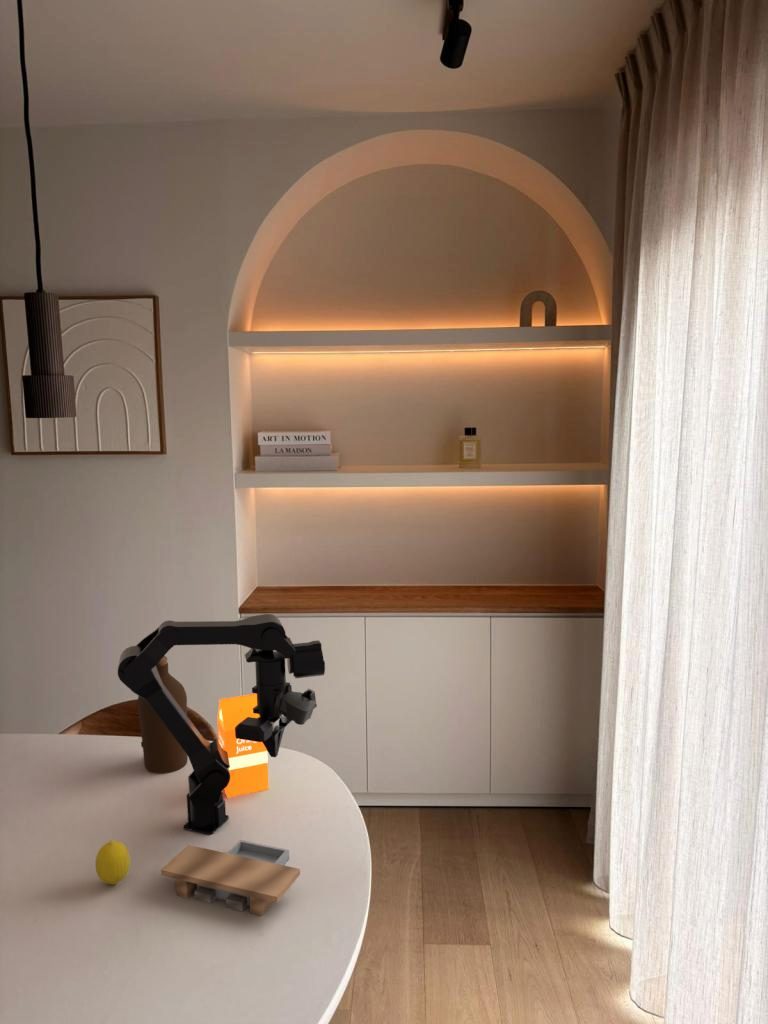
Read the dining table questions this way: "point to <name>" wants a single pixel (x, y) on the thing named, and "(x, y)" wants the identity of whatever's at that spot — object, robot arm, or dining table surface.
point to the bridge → (229, 878)
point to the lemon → (112, 862)
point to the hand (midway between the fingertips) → (274, 756)
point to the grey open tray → (253, 852)
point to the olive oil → (161, 729)
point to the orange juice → (242, 747)
